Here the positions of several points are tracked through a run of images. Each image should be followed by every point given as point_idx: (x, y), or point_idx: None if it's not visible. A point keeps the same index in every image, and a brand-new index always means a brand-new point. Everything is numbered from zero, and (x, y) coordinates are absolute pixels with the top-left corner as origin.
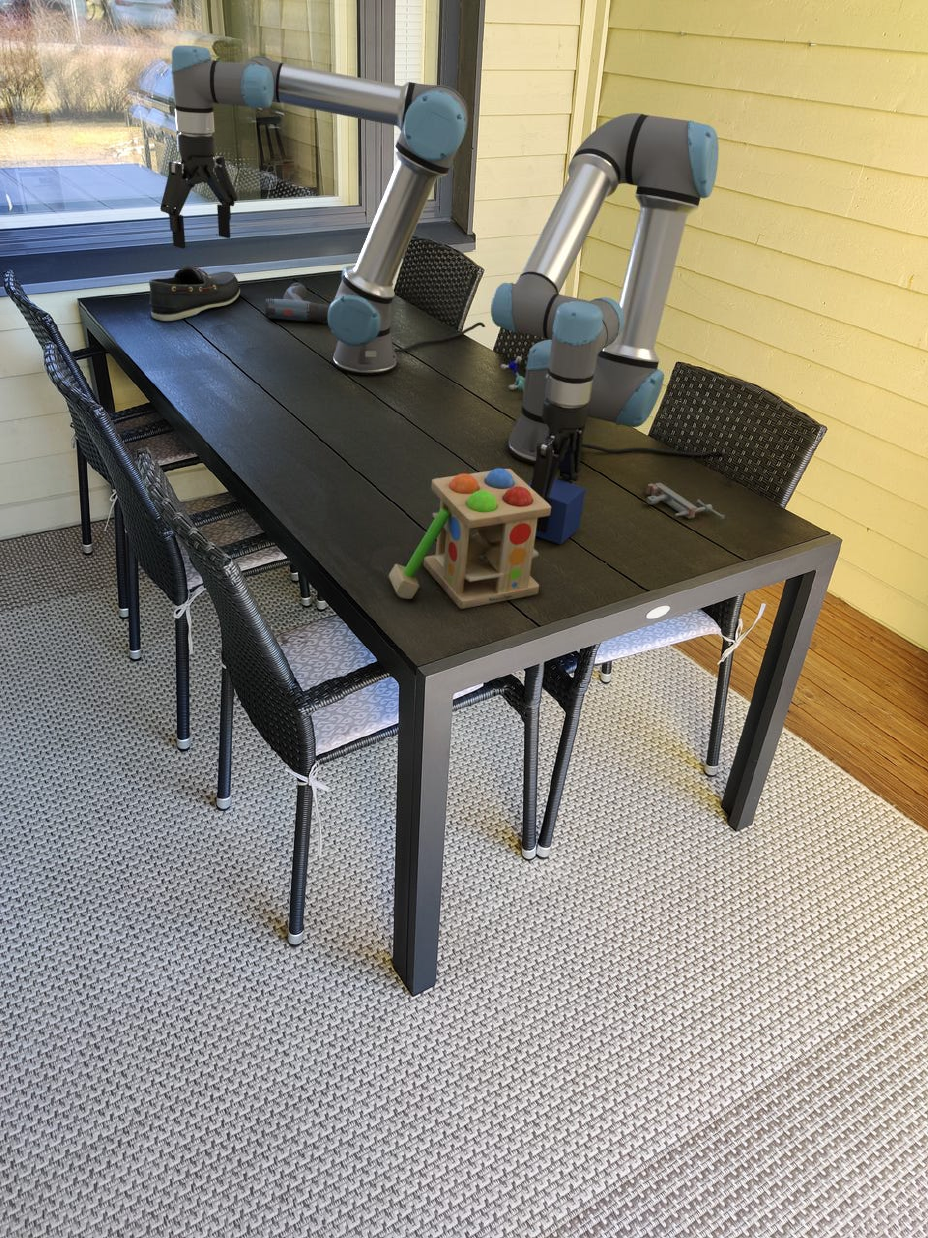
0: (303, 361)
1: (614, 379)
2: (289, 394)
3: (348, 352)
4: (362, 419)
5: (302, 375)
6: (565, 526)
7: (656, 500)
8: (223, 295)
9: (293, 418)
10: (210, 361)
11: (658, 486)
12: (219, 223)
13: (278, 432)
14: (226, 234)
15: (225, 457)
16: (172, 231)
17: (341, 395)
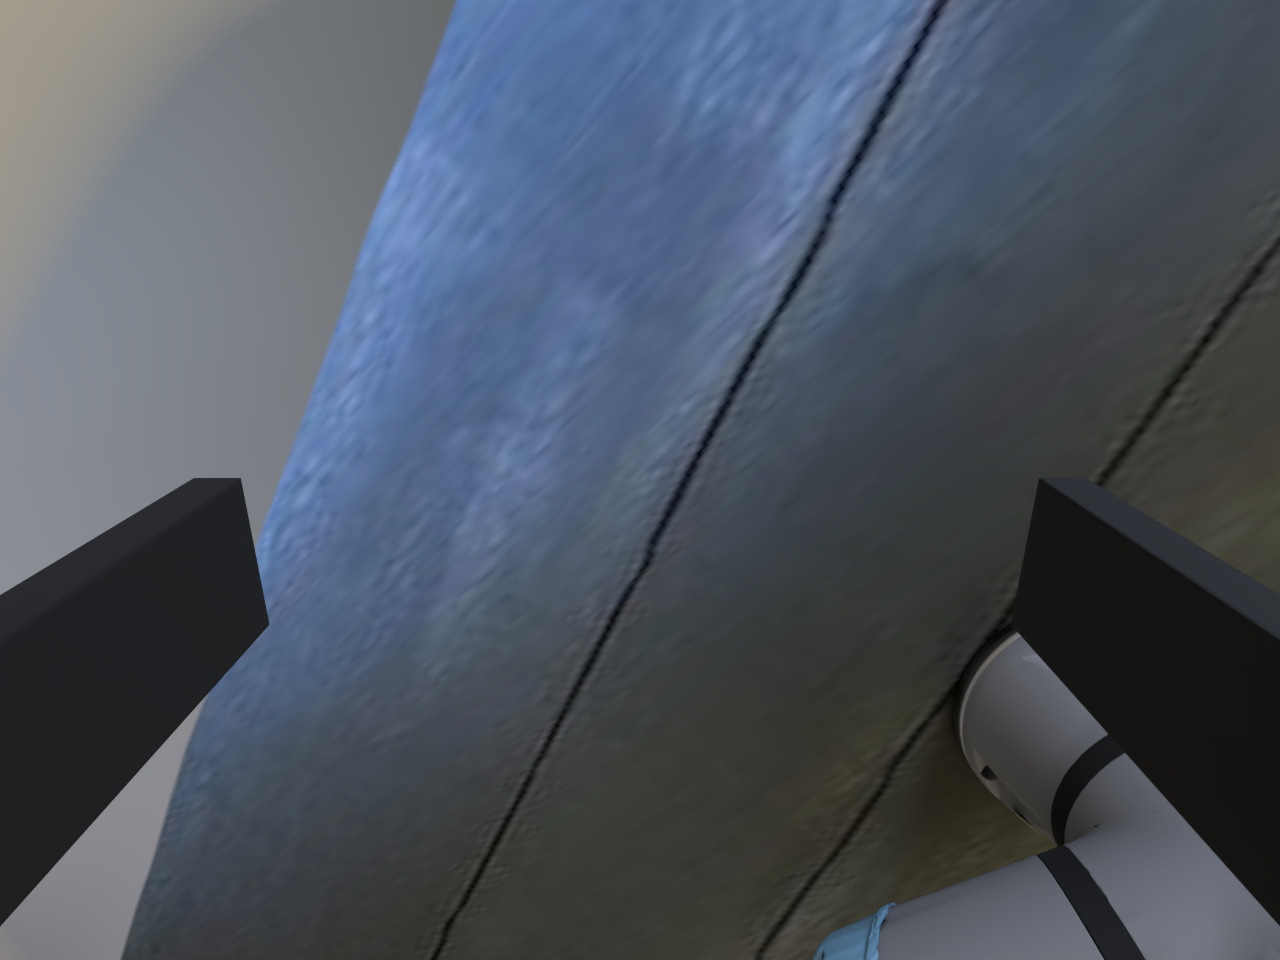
0: (965, 526)
1: None
2: (649, 686)
3: (1000, 752)
4: (646, 922)
5: (830, 612)
6: None
7: None
8: None
9: (505, 801)
10: (709, 249)
11: None
12: (1135, 576)
13: (397, 828)
14: (1031, 627)
15: (167, 830)
16: (64, 560)
17: (760, 796)
